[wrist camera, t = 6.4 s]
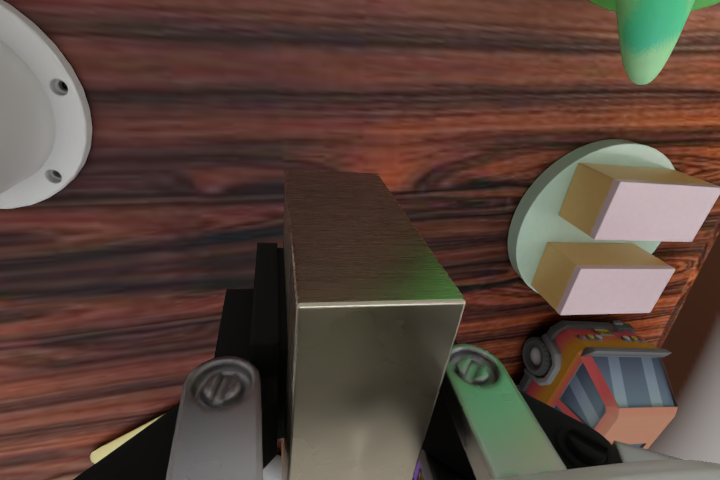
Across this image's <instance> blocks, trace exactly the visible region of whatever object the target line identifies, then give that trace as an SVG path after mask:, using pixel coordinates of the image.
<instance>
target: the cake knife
mask: <svg viewBox="0 0 720 480" xmlns="http://www.w3.org/2000/svg"><path fill="white" fill-rule="evenodd" d="M283 248H284V266H285V289H286V313H287V340H288V346H287V376H286V402H285V428H284V438H281V472H282V480H412V479H413V476H414V473H415V469H416V466H417V463H418V459H419V456H420V453H421V449H422V446H423V443H424V440H425V436H426V433H427V430H428V426H429V423H430V420H431V416H432V413H433V410H434V406H435V403H436V400H437V397H438V393H439V390H440V387H441V383H442V380H443V377H444V373H445V370H446V367H447V364H448V360H449V357H450V354H451V350H452V347H453V344H454V340H455V337H456V334H457V330H458V327H459V324H460V321H461V317H462V314H463V311H464V307H465V304H466V303H465V299H464V297H463V296H462V294H461V293H460V291H459V290H458V288H457V287H456V286H455V284H454V283H453V281H452V280H451V278H450V277H449V276H448V274H447V273H446V271H445V270H444V268H443V267H442V266H441V264H440V263H439V261H438V260H437V258H436V257H435V256H434V254H433V253H432V251H431V250H430V248H429V247H428V245H427V244H426V243H425V241H424V240H423V238H422V237H421V235H420V234H419V233H418V231H417V230H416V228H415V227H414V225H413V224H412V223H411V221H410V220H409V218H408V217H407V215H406V214H405V212H404V211H403V210H402V208H401V207H400V205H399V204H398V202H397V201H396V200H395V198H394V197H393V195H392V194H391V192H390V191H389V190H388V188H387V187H386V185H385V184H384V182H383V181H382V179H381V178H380V177H379V175H378V174H375V173H356V172H336V171H317V170H297V169H286V171H285V200H284V237H283Z"/></svg>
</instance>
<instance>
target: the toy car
mask: <svg viewBox="0 0 720 480" xmlns="http://www.w3.org/2000/svg"><path fill="white" fill-rule="evenodd" d="M669 354H671V352H669V351H668V350H666V349H658V348H657V347H655V346H653V345H652V344H650V343H649V342H647V341H646V339H645V338H643V337H641V336H637V335H636V333H635V330H634V328H633V327H632V326H631V325H629V324H626V323H622V322H621V321H613V322H612V323H609V322H588V321H560V322H558V323H557V324H555V325H553V326H552V327H550V328H549V330H548V332H547V333H545V334H543V335H542V337H531V338H528V339H527V340H526V342H525V343H524V346H523V349H522V357H523V361H524V364H525V366H526V368H525V369H524V372H525V374H524V376H523V378H522V380H521V382H520V383H519V385H516V387H517V389H518V390H520V391H522V392H524V393H526V394H527V395H529V396H531V397H533V398H535V399H537V400H539V401H541V402H543V403H545V404H547V405H549V406H551V407H553V408H555V409H557V410H558V411H560V412H562V413H564V414H566V415H568V416H570V417H572V418H574V419H576V420H578V421H580V422H582V423H584V424H586V425H587V426H589V427H591V428H592V429H594V430H596V431H597V432H599V433H600V434H601V435H602V436H603V437H605V438H606V439H607V440H608V441H609V442H610V443H611V445H612V443H613V442H614V440H615V441H619V442H622V443H626V444H629V445H633V446H636V447H640V448H644V449H648V448H649V447H650V445H651V444H652V443H653V442H654V441H655V439H656V438H657V437H658V436H659V434H660V433H661V432H662V431H663V430H664V429H665V427H666V426H667V425H668V424H669V422H670V421H671V420H672V419H673V418H674V417H675V414H676V411H677V408H678V406H677V403H676V399H675V396H674V393H673V390H672V387H671V384H670V381H669V378H668V375H667V372H666V369H665V366H664V363H663V359H662V358H663V357H665V356H667V355H669Z"/></svg>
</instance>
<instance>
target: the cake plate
mask: <svg viewBox="0 0 720 480" xmlns="http://www.w3.org/2000/svg"><path fill="white" fill-rule="evenodd" d="M578 163H591V164H605V165H619V166H633V167H647V168H661V169H673V170H675V169H674V167H673V165H672V164H671V162H670V161H669V159H668V158H667V157H666V156H665V155H664V154H662V153H661V152H659V151H658V150H656V149H655V148H652V147H649V146H646V145H643V144H640V143H637V142H634V141H630V140H624V139H609V140H601V141H597V142H594V143H590V144H587V145H585V146H582V147H580V148H577V149H575V150H573V151H572V152H570V153H568V154H566V155H565V156H563V157H562V158H560V159H559V160H557V161H556V162H554V163H553V164H552V165H551V166H550V167H548V168H547V169H546V170H545V171H544V172H543V173H542V174H541V175H540V176H539V177H538V178H537V179H536V180H535V181H534V182H533V184H532V185H531V186H530V187H529V188H528V190H527V191H526V193H525V194H524V196H523V197H522V199H521V201H520V202H519V204H518V206H517V208H516V210H515V213H514V215H513V218H512V220H511V224H510V228H509V233H508V254H509V259H510V262H511V265H512V267H513V269H514V270H515V272H516V273H517V275H518V276H519V277H520V278H521V279H522V280H523V281H524V282H525V283H526V284H527V285H528V286H529V287H530V288H531V289H532V290H533V291H535V292H537V291H536V290H535V289H534V288H533V287H532V286H531V283H532V281H533V278H534V276H535V273H536V270H537V268H538V265H539V263H540V260H541V258H542V255H543V252H544V250H545V247H546V245H547V242H571V243H622V244H635V245H637V246H639V247H640V248H642V249H643V250H645V251H647V252H648V253H650V254H652V253H653V252H654V251H655V249H656V248H657V247H658V245H659V244H660V243H661V241H628V240H594V239H592V238H591V237H589V236H588V235H587V234H585V233H584V232H582V231H581V230H579V229H578V228H576V227H575V226H574V225H572V224H571V223H569V222H568V221H566V220H565V219H563V218H562V217H560V216H559V212H560V209H561V207H562V204H563V202H564V199H565V196H566V194H567V191H568V189H569V186H570V184H571V181H572V179H573V176H574V173H575V171H576V168H577V166H578ZM537 293H538V292H537Z"/></svg>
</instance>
